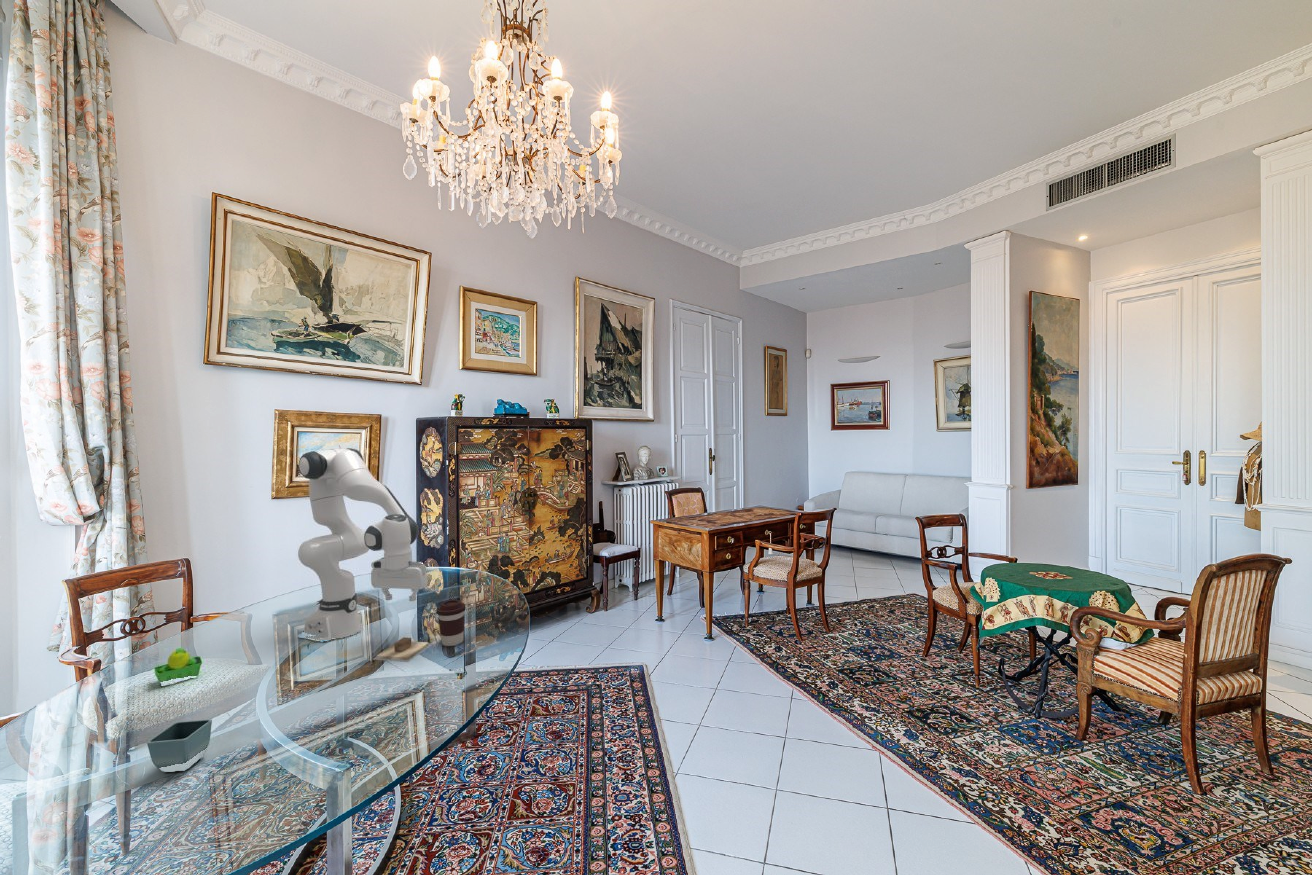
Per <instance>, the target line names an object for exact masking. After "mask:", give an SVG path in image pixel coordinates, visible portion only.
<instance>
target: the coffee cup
mask: <svg viewBox="0 0 1312 875" xmlns="http://www.w3.org/2000/svg"><path fill="white" fill-rule="evenodd" d="M466 609H467V608H466V604H465V603H464V602H462V601H461V600H459V599H450V600H446V601H443V602H441V603H440V605H439V606H437V607H436V609H435V610H436V615H437V616H438V628H439V634H440V638H441V644H442V646H445V647H453V646H456V645H460V644H461V643H463V642H464V632H465V610H466Z"/></svg>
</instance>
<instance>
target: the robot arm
mask: <svg viewBox="0 0 1312 875" xmlns="http://www.w3.org/2000/svg"><path fill="white" fill-rule="evenodd" d="M298 470H299V473H300V474H301V475H302V477H303V478H305V479H308V494H309V495H308V496H309V501H310V508H311V512H312V518H313V521H314V522H315V523H317V524H318V525H320V526H324V527H326V528H328V530H330V532H331V533H330V534H326V535H320V536H316V537H313V538H311V539H308V540H305V541H303V542H302V543H301V544H300V546H299V548H298V551H297V556H298V557H297V558H298V560H299V561H300V563H301V564H302V565H303V566H305V567H307V568H309V569H310V570H312V571H314V573H316V575H317V577H318V579H319V582H320V587H321V596H322V598H321V599H320V600H317V601H316V605H319V606H318V609H317V610H315V611H314V612H313V613H312V614H311V615H310V616H309V617H307V619H306V620H305V622H304V629H303V630H304V632H305V633H307V634H311V635H319V637H317V636H315V637H313V636H311V637H310V636H309V637H308V636H306V638H313V639H317V640H328V639H331V638H341V639H344V638H343V637H345V638H348V637H350V636H349V635H351V636H354V635H356V634H357V632H358V633H359V632H361V631H362V629H363V627H362V623H361V621H360V617H359V613H358V612H359V611H358V607H357V605H358V596H357V593H356V585H355V582H356V581H355V576H354V574H353V573H352V571H349V570H346V569H343V568H342V569H341V567H340V565H339V563H340V562H344V561H347V560H351V559H356V558H358V557H360V556H362V555H364V554H366V553H368V552H369V550H370V551H372V552H375V551H376V552H379V551H384V552H383V557H382V558H380V559H376V560H375V561H372V562H371V563H370V564H371V568H372V570H371V572H370V573H371V574H370V583H371V586H372V588H374V589H381V592H382V594H383V595H384V597H385V598H384V601H392V599H393V594H392V593H390V589H398V590H399V589H402V590H410V591H411V595H410V596H408V598H409V599H408V601H409V602H415V601H416V600H417V595H418V593H419V590H423V589H425V588H426V587H427V586H428V585H429V580H428V573H427V567H426V564H424V563H423V562H422V561H413V549H412V547H411V546H412V544H414V543H415V541H416V540H417V538H418V536H419V534H420V530H419V529H420V528H419V525H418V523H417V522H416V521H415V519H413V518H412V517H411V516H410V515H409V514H408V513H407V511H406V510H405V509H404V507H403V506H402V504H401V503H400V502H399V500H398V499H397V497H396V496H395V495H394V494H393V492H392V491H391V490H390V488H389V487H388V486H386V485H384V484H383V483H382V482H379V481H378V480H377V479H375V477H374V475H372V473H371V472H370V470H369V468H368V466H367V465H366V463H365V462H364V458H363V454H362V453H361V452H360V450H358V449H356V448H349V447H348V448H329V449H323V450H316V451H315V450H313V451H311V450H310V451H307V452H305V453H303V454H302V455H301V456H300V457H299V460H298ZM344 496H345V497H347V498H348V499H350V500H353V501H357V502H364V503H365V502H367V503H370V504H371V503H372V504H375V505H377V506H380V507H381V508H382V509H383V511H385V513H386V514H387V515H385V516H384V517H383V519H382V520H380V521H379V522H377V523H374V524H372V525H369V526H368V527H367V528H366V529H365V530H364V529H362V528H360V527H358V526H357V525H356V524H355V523H354V522H353V521H352V520H351V518H350V517H349V514H348V512H347V508H346V503H345V498H344ZM360 623H361V624H360ZM320 636H321V637H320ZM347 636H348V637H347ZM320 638H324V639H320Z"/></svg>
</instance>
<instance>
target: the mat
mask: <svg viewBox="0 0 1312 875" xmlns="http://www.w3.org/2000/svg"><path fill="white" fill-rule="evenodd" d="M433 645H434V644H433V643H429V646H427V647H426V648H424V649H423V650H421V651H420V652H419V653H417V654H416V655H414V656H413V657H412V658H410V659H409V660H395V659H380V658H376V656H374V658H372V659H371V660H372V661H373V660H375V661H376V660H377V661H387V662H388V661H389V662H404V663H405V662H406V663H409V662H411V660H413V659H414V658H416V657H417V656H419V655H420V654H422V653H423V652H424V651H426V650H428V648H430V647H431V646H433Z"/></svg>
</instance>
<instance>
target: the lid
mask: <svg viewBox="0 0 1312 875" xmlns="http://www.w3.org/2000/svg"><path fill="white" fill-rule="evenodd" d="M429 644H430V643H429V642H428V641H427V642H426V641H412V637H405V636H403V637H402V638H399V640H397V641H396V642H394V643H393V644H392V645H390V646H388V647H387V648H386V649H384V650H382V651H381V652H380V653H378V654H376V656H375V657H376V658H380V659H395V660H409V659H410V658H412V657H413V656H414V655H416V654H417V653H419V652H420V651H421V650H423V649H424V648H426V647H427V646H429Z"/></svg>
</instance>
